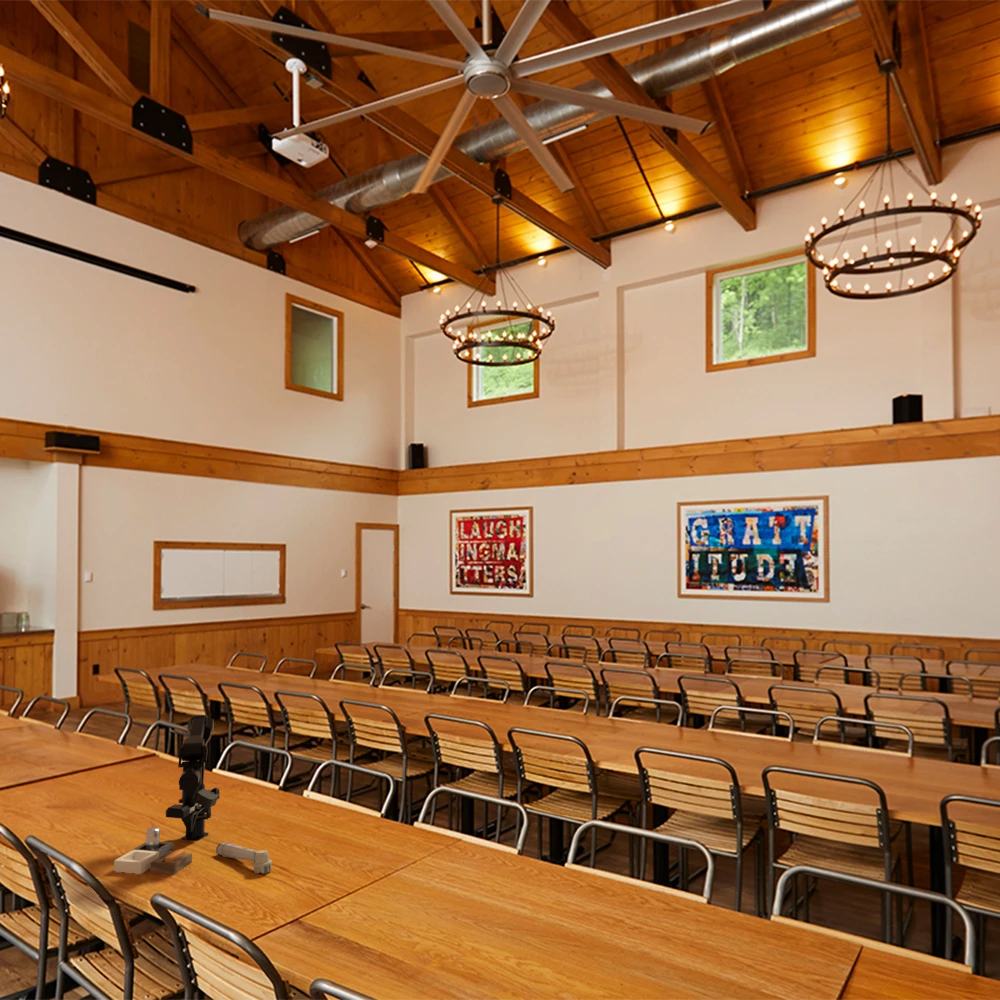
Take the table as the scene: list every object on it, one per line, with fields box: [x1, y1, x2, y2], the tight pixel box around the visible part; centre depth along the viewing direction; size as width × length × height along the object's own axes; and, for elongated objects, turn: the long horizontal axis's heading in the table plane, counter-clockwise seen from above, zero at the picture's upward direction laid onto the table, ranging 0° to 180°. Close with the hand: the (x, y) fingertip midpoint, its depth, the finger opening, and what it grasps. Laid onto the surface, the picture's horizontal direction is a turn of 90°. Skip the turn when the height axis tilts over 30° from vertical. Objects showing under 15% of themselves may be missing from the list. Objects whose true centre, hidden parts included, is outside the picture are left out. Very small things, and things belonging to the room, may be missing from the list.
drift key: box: [165, 848, 186, 863], centre depth 239 cm, size 7×2×4 cm, turn 169°
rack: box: [113, 849, 159, 875], centre depth 238 cm, size 9×9×4 cm
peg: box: [145, 826, 161, 851], centre depth 248 cm, size 4×4×8 cm
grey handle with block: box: [215, 841, 273, 875], centre depth 242 cm, size 5×7×25 cm
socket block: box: [130, 841, 174, 857], centre depth 248 cm, size 9×9×2 cm
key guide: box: [149, 851, 193, 876], centre depth 238 cm, size 9×8×3 cm
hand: (190, 831), depth 247 cm, fingers closed
